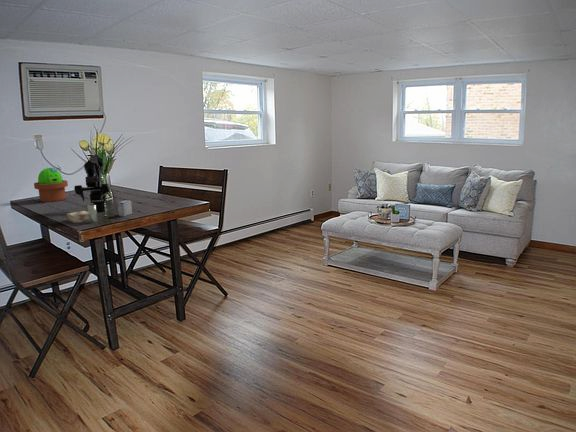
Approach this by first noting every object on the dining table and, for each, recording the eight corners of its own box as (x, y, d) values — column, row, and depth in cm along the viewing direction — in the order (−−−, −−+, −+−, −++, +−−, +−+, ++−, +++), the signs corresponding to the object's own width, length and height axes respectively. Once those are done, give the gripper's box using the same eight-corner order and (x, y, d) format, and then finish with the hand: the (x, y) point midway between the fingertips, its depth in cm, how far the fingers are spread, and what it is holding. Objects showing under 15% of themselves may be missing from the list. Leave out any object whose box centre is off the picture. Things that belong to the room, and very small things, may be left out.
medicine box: (126, 213, 280) (125, 200, 278) (132, 213, 278) (131, 200, 276) (118, 216, 272) (117, 202, 270) (124, 216, 271) (123, 202, 269)
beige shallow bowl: (85, 216, 272) (84, 210, 271) (93, 219, 265) (92, 213, 264) (67, 220, 264) (66, 213, 263) (74, 222, 257) (73, 216, 256)
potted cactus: (32, 200, 330) (26, 167, 325) (62, 196, 347) (57, 164, 341) (43, 203, 317) (38, 169, 311) (74, 199, 333) (70, 166, 327)
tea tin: (90, 221, 260) (87, 204, 258) (98, 220, 261) (96, 204, 259) (88, 223, 256) (86, 206, 253) (97, 222, 257) (95, 205, 255)
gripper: (72, 172, 258) (71, 193, 250) (106, 170, 263) (106, 191, 255) (76, 183, 267) (75, 204, 259) (109, 181, 272) (109, 202, 265)
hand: (92, 200), depth 259 cm, fingers open, 9 cm apart
